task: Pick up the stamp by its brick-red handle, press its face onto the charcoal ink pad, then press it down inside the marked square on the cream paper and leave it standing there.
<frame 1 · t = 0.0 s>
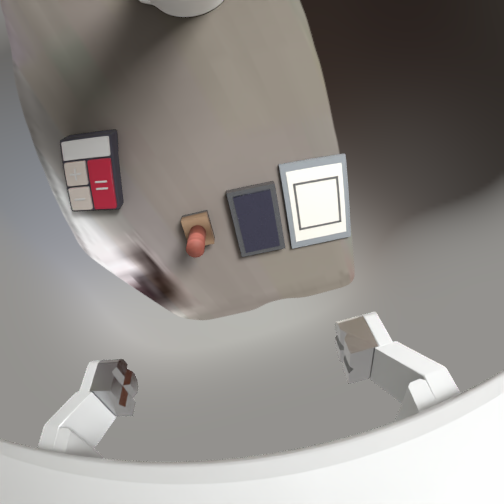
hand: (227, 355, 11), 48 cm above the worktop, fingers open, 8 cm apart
stamp: (198, 226, 61), on the worktop
board: (317, 201, 60), on the worktop
calculator: (95, 169, 53), on the worktop
ink pad: (256, 218, 61), on the worktop
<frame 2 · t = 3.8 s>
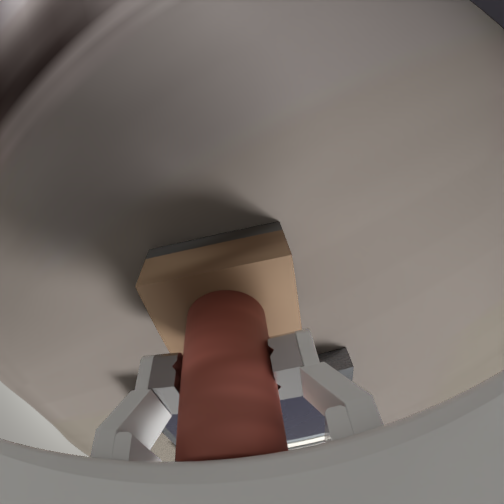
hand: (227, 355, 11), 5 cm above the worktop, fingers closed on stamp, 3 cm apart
stamp: (225, 281, 15), on the worktop, touching gripper
board: (283, 455, 27), on the worktop
ink pad: (251, 405, 21), on the worktop
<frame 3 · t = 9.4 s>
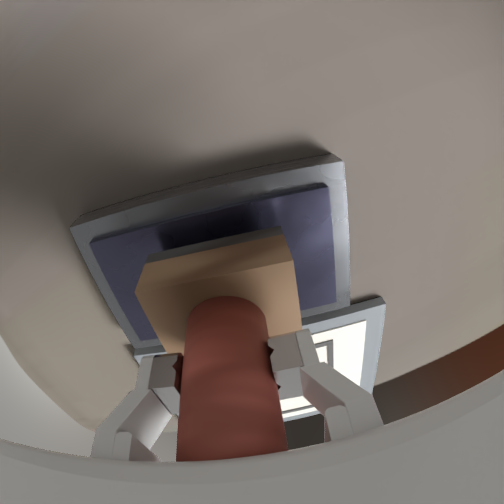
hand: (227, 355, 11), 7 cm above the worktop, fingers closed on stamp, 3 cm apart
stamp: (225, 285, 15), point 3 cm above the worktop, touching gripper
board: (271, 380, 24), on the worktop
ink pad: (219, 256, 17), on the worktop
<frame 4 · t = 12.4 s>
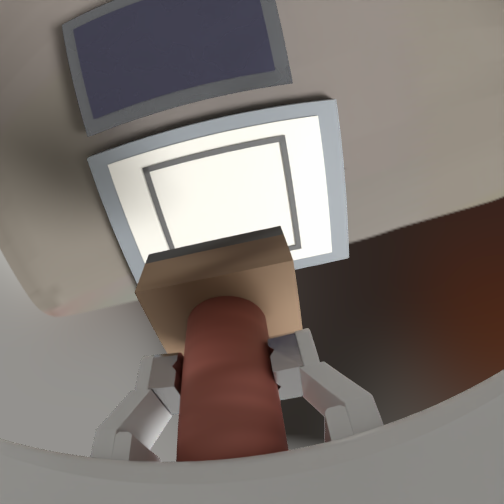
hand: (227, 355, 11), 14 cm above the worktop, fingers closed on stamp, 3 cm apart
stamp: (225, 285, 15), point 10 cm above the worktop, touching gripper
board: (226, 204, 23), on the worktop
ink pad: (172, 44, 16), on the worktop
when the fingers open (7 cm above the worktop, at t = 15.1 s): stamp drops 1 cm, resting on board.
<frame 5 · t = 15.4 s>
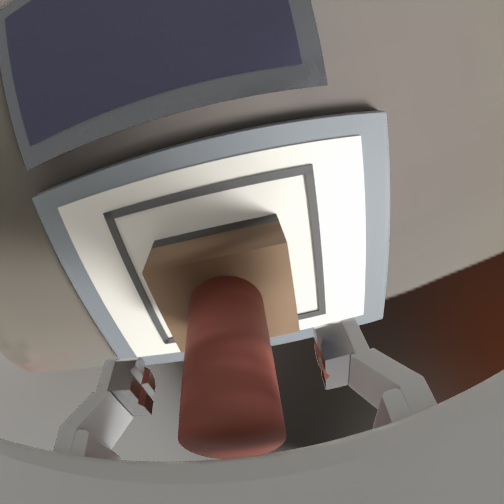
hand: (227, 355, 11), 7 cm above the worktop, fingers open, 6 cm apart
stamp: (225, 270, 16), point 1 cm above the worktop, touching board
board: (224, 259, 16), on the worktop
ink pad: (142, 27, 10), on the worktop
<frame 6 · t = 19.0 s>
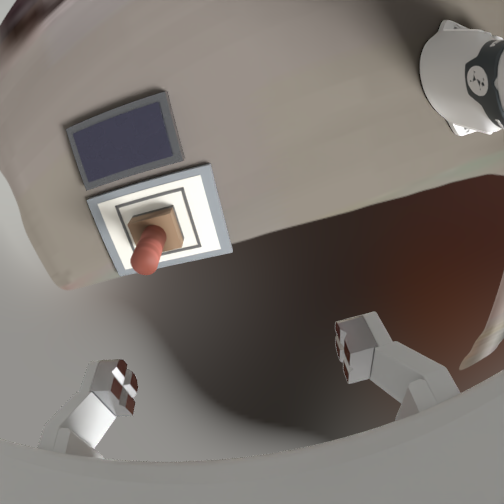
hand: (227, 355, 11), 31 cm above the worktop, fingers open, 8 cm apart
stamp: (158, 226, 41), point 1 cm above the worktop, touching board
board: (159, 223, 41), on the worktop
ink pad: (124, 140, 35), on the worktop
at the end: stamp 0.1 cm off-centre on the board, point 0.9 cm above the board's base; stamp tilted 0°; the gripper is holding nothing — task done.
